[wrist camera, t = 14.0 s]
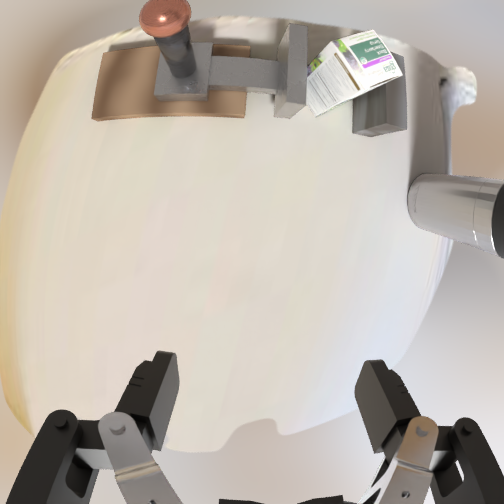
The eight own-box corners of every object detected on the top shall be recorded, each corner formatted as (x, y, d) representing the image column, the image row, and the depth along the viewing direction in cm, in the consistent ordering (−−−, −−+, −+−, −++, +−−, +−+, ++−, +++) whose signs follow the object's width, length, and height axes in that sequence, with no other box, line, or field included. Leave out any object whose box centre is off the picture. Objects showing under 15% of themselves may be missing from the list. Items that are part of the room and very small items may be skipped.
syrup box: (324, 69, 32) (372, 24, 18) (347, 103, 33) (406, 74, 19) (291, 84, 32) (329, 37, 18) (315, 119, 34) (366, 91, 20)
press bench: (370, 75, 32) (403, 56, 24) (370, 137, 35) (407, 129, 26) (108, 57, 28) (82, 32, 19) (97, 121, 31) (65, 108, 22)
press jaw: (292, 50, 29) (339, -22, 13) (289, 118, 31) (345, 73, 15) (168, 44, 27) (136, -33, 11) (158, 112, 29) (106, 62, 13)
